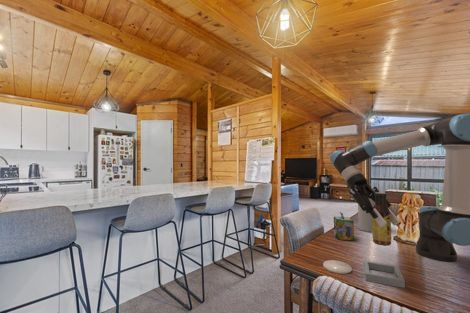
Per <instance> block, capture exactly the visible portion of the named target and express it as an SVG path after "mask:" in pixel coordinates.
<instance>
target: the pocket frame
mask: <svg viewBox="0 0 470 313" xmlns="http://www.w3.org/2000/svg"><path fill="white" fill-rule="evenodd" d="M362 261H363V272H364V278H365V281H367V282H372V283H373V282H374V283H379V284H383V285H388V286H393V287H398V288H403V289H405V288H406V287H405V286H406V285H405V283H406V282H405V278H404V276H403V274H402V273H401V270H400V268H399V267H398V265H394V264H387V263H382V262H377V261H369V260H364V259H363V260H362ZM370 270H375V271H381V272H386V273H392V274H393V275H394V276H390V275H385V274H381V273H379V274H378V273H375V272H371V271H370Z"/></svg>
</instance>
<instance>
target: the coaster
mask: <svg viewBox="0 0 470 313" xmlns="http://www.w3.org/2000/svg"><path fill="white" fill-rule="evenodd" d="M322 265H323V268H324V269H325V270H326V271H328V272H331V273H334V274H338V275H347V274H351V273H352V272H353V267H352V266H351V265H350V264H348V263H346V262H344V261H341V260H335V259H331V260H329V259H328V260H325V261H324V262H323V263H322Z"/></svg>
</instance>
